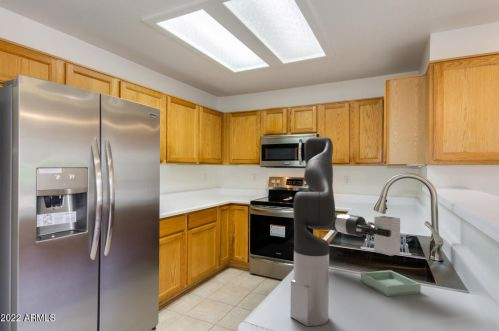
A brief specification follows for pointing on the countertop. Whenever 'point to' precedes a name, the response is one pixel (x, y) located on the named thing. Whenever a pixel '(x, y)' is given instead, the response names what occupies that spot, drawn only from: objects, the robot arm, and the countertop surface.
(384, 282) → the bin
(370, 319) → the countertop surface
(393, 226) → the canister
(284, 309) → the countertop surface
